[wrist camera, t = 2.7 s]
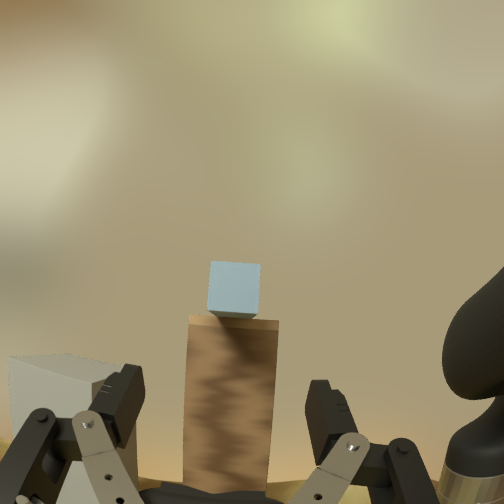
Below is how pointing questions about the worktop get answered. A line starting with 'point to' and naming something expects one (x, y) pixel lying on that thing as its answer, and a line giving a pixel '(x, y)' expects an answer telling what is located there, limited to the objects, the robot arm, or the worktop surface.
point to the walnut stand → (228, 403)
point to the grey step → (64, 407)
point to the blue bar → (234, 289)
